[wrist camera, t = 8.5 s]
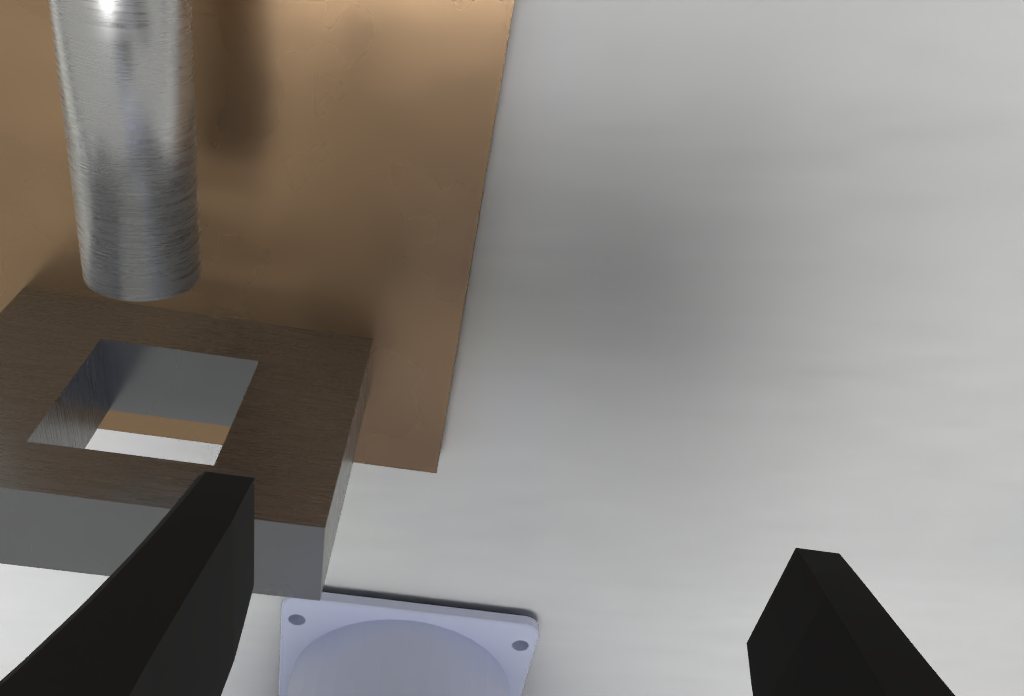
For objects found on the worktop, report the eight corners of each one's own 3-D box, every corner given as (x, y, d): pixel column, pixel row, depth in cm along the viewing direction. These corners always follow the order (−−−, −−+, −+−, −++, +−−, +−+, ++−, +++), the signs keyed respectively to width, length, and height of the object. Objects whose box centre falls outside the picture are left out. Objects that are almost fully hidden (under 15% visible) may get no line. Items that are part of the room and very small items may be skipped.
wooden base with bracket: (439, 453, 24) (412, 675, 18) (-20, 391, 22) (-203, 606, 17) (579, -404, 14) (623, -522, 8) (-236, -589, 12) (-875, -883, 7)
